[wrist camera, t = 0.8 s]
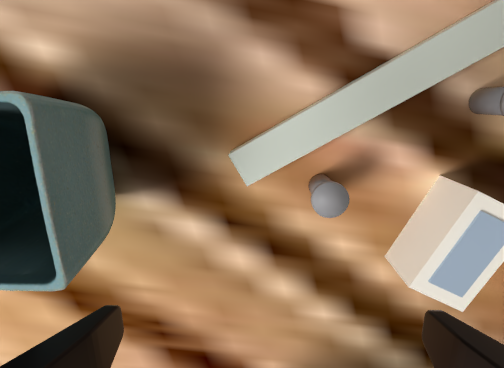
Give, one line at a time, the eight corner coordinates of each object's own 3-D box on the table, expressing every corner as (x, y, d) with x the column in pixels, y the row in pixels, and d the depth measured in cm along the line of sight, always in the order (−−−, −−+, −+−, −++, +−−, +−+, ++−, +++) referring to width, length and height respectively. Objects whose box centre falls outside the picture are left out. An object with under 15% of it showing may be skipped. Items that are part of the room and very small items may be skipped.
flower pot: (2, 98, 20) (-195, 95, 12) (129, 95, 20) (25, 90, 11) (30, 218, 22) (-116, 291, 14) (144, 218, 22) (68, 292, 13)
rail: (554, 81, 19) (617, 77, 15) (274, 224, 22) (276, 246, 19) (524, -17, 17) (585, -45, 14) (230, 151, 20) (224, 160, 17)
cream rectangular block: (438, 174, 21) (480, 191, 17) (486, 198, 21) (539, 221, 17) (383, 255, 22) (409, 288, 18) (429, 276, 23) (464, 313, 19)
